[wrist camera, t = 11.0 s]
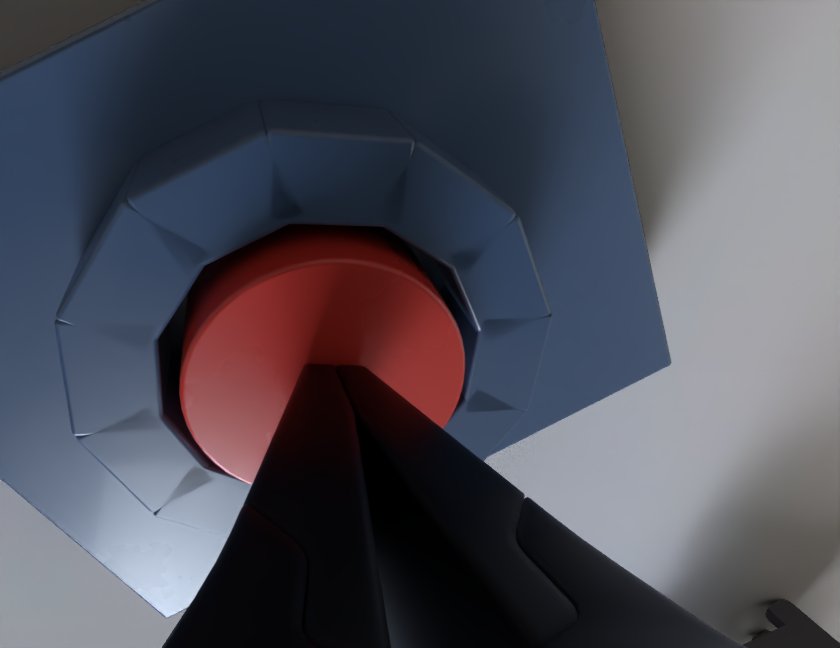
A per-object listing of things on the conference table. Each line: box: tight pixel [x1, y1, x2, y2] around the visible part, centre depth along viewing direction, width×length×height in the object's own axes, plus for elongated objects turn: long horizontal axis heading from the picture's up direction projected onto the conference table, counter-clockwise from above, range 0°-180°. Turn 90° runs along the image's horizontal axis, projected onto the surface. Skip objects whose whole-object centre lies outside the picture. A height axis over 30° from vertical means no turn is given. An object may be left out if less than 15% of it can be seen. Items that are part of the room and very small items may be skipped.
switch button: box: [179, 224, 465, 485], centre depth 10 cm, size 4×4×2 cm
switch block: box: [0, 0, 671, 618], centre depth 11 cm, size 12×10×4 cm
